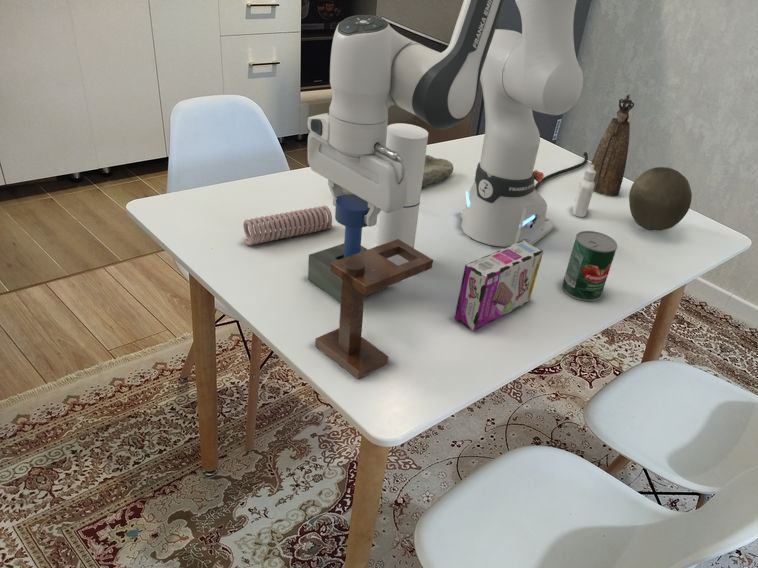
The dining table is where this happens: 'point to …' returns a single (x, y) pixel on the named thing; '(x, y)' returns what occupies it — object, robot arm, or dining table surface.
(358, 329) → the stand
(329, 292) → the holder
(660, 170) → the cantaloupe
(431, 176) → the elongated rock
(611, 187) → the statue
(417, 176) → the cylindrical container
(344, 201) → the peg
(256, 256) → the dining table surface
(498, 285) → the candy bar box
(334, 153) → the robot arm
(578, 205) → the eye dropper bottle
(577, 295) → the canned tomato
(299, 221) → the coil
